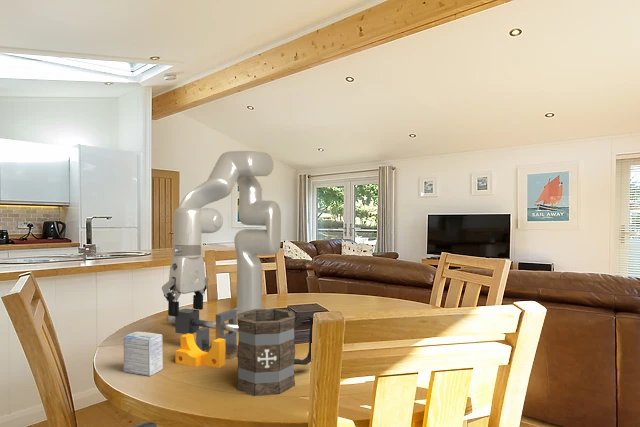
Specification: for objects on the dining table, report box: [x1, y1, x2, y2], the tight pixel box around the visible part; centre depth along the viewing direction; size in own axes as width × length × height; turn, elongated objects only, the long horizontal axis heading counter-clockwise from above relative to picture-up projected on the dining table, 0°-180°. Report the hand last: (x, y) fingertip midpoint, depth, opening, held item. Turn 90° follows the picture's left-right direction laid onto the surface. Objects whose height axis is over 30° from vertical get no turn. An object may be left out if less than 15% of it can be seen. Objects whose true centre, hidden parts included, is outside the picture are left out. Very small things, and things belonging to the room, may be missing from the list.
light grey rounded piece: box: [167, 305, 194, 324], centre depth 140 cm, size 10×5×15 cm
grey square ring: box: [195, 308, 238, 360], centre depth 110 cm, size 13×7×11 cm, turn 66°
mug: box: [236, 308, 313, 397], centre depth 92 cm, size 20×14×15 cm
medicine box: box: [123, 331, 164, 377], centre depth 96 cm, size 8×4×9 cm, turn 71°
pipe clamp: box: [174, 333, 226, 369], centre depth 102 cm, size 12×4×6 cm, turn 66°
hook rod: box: [174, 308, 239, 335], centre depth 111 cm, size 23×4×6 cm, turn 66°
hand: (186, 312), depth 114 cm, fingers open, 9 cm apart
